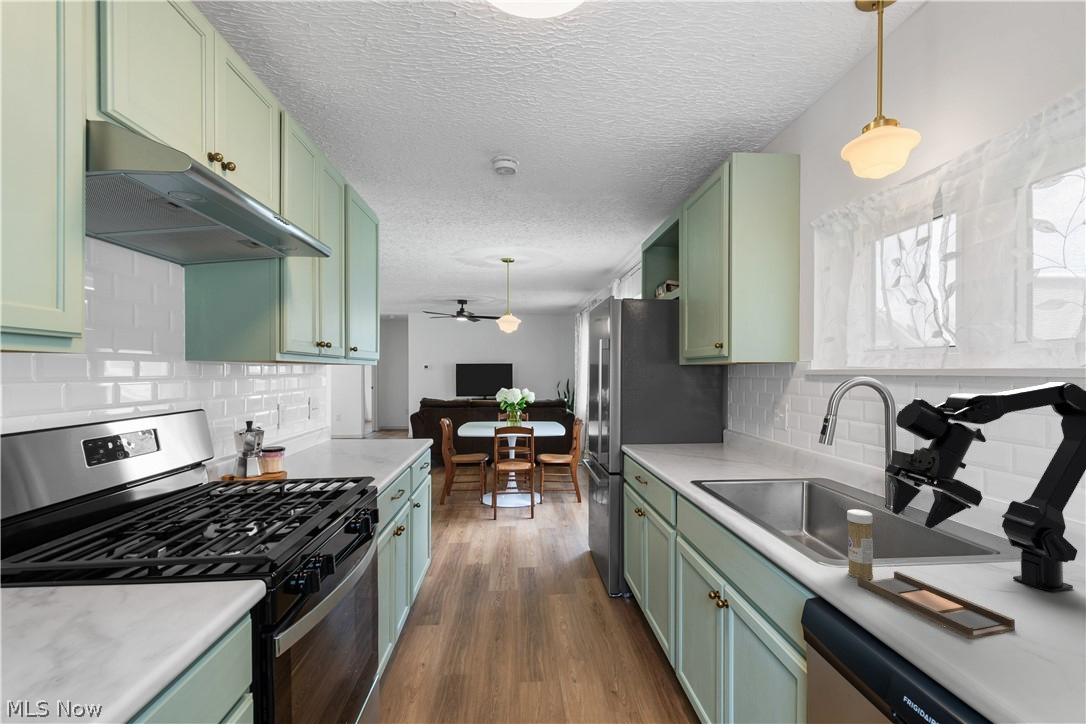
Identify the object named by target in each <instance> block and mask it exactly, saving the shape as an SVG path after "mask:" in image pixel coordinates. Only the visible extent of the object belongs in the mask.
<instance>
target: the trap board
mask: <svg viewBox="0 0 1086 724" xmlns="http://www.w3.org/2000/svg"><path fill="white" fill-rule="evenodd" d="M857 586H859V587H861V588H862V589H864V590H867V591H869V592H871V593H873V594H875V595H877V596H879V597H880V598H881V597H882V598H884V599H885V600H887V601H890V602H891V603H893V604H897V605H898V606H899V607H902V608H905V609H907V610H909V611H910V612H912V613H915V614H917V615H919V616H920V617H923V618H925V619H927V620H930V621H932V622H933V621H934V623H935V622H936V624H938V625H940V626H942V625H943V626H942V627H944V626H945V627H944V628H946V629H947V630H950V629H951V630H950V631H952V630H953V632H954V631H955V633H956V632H957V633H956V634H958V633H959V634H958V635H960V636H962V637H964V638H967V639H969V640H970V639H971V640H972V639H975V638H980V637H981V638H982V637H986V635H987V636H990V635H995V634H996V633H997V634H1001V632H1002V633H1006V632H1011V631H1016V623H1015V622H1016V621H1015V618H1013V617H1011V616H1010V617H1009V616H1007V615H1004V614H1002V613H999V612H997V611H995V610H993V609H989V608H988V607H985V606H982V605H980V604H977V603H975V602H973V601H971V600H968V599H965V598H964V597H961V596H958V595H955V594H954V593H951V592H949V591H946V590H944V589H941V588H939V587H936V586H934V585H931V584H929V583H926V582H925V581H922V580H921V579H917V578H915V577H912V576H911V575H910V576H909V575H907V574H905V573H903V572H900V571H898V570H896V571H893V577H887V578H882V579H874V580H871V579H865V578H863V577H858V578H857ZM997 634H996V635H997Z"/></svg>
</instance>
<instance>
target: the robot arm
mask: <svg viewBox="0 0 1086 724" xmlns="http://www.w3.org/2000/svg"><path fill="white" fill-rule="evenodd" d="M1047 406H1051V408H1052V410H1053V412H1054V413H1056V414H1058V416H1060V417H1062V419H1061V422H1060V426H1061V427H1060V428H1061V431H1062V435H1063V438H1062V440H1061V442H1060V444H1059V445H1058V447H1057V449H1056V450H1055V453H1054V455H1052V458H1051V459H1050V461H1049V464H1048V465H1047V467H1046V469H1045V470H1044V472H1043V474H1042V476H1041V477H1040V479H1039V481H1038V483H1037V485H1036V487H1035V488H1034V490H1033V492H1032V494H1031V495H1030V497H1029V498H1028V499H1026V500H1024V501H1022V502H1020V501H1017V500H1012V501H1011V502H1010V503H1009V504H1008V508H1007V510H1006V512H1004V514H1002V516H1001V518H1003V521H1002V524H1001V527H1002V528H1003V532H1004V534H1005V536H1006V537H1007V539H1008V542H1009V544H1010V546H1011V547H1015V548H1016V549H1017V548H1018V549H1020V550H1021V551H1020V575H1015V576H1012V580H1014V581H1017V582H1019V583H1023V584H1024V585H1025V584H1026V585H1029V586H1031V587H1034V588H1038V589H1039V590H1043V591H1046V592H1049V593H1055V592H1059V591H1066V590H1071V589H1073V588H1074V586H1073V585H1072V584H1070V583H1067V582H1064V566H1063V565H1064V563H1069V562H1071V561H1072V562H1073V561H1075V560H1076V557H1077V555H1078V549H1077V548H1075V546H1074V545H1073V544H1071V543H1070V542H1069V541H1068V540H1067V539H1066V538H1065V537H1064V534H1065V532H1066V529H1067V526H1066V523H1065V518H1064V512H1063V511H1064V509H1065V508H1066V506H1067V504H1068V502H1069V500H1070V499H1071V497H1072V495H1073V494H1074V492H1075V490H1076V488H1077V486H1078V485H1079V483H1080V481H1081V479H1082V478H1083V475H1084V474H1085V472H1086V390H1085V389H1083V388H1082V387H1080V386H1079V385H1078V384H1074V383H1072V382H1059V381H1057V382H1054V381H1050V382H1047V383H1044V384H1039V385H1035V386H1028V387H1022V388H1017V389H1016V388H1015V389H1011V390H1006V391H1001V392H994V393H953V394H950V395H949V396H947V398H946V400H945V401H944V402H941V403H940V404H937V405H935V406H934V405H932V404H930V403H929V402H928V401H926V399H923V398H913V400H912V402H911V403H909V404H906V405H905V406H904V407H903V408H902V409H901V410H899V411H898V413H897V416H896V418H895V419H896V420H895V423H896V425H897V426H898V427H899V428H901V429H903V430H905V431H907V432H908V433H910V434H912V435H914V436H916V437H918V438H920V439H922V440H924V441H931V442H930V443H929V446H928V447H924V446H923V447H921V448H919V449H915V451H907V450H901V449H892V450H891V459H890V463H888V464H887V467H886V469H885V470H884V473H886V474H887V478H888V479H889V480H890V481H891V483H892V484H893V499H892V511H891V512H892V514H895V515H897V516H899V514H900V513H902V512H903V510H905V509H906V508H907V506H908V505H909V504H910V503H911V502H912V501H914V499H915V498H916V497H917V495H918V494H919V493H920V492H922V490H921V489H920V488H921V487H922V486H926V487H930V488H932V489H931V490H932V493H933V494H932V495H933V498H934V501H933V503H932V505H931V507H930V510H929V512H928V514H927V517H926V519H925V524H924V527H925V528H927V529H929V530H930V529H933V528H934V527H936V526H938V525H939V524H941V523H942V522H944V521H946V520H947V519H949V518H951V517H953V516H954V515H956V514H958V513H960V512H962V511H964V510H966V509H968V510H970V509H971V508H972V506H974V507H977V508H979V506H980V504H981V502H982V501H983V500H984V499H983V498H984V497H983V495H982V492H981V491H980V490H979V489H978V488H975V487H973V486H972V485H969V484H967V483H965V482H964V481H962V480H959V479H955V476H956V473H957V472H958V470H959V469H962V470H965V469H966V467H967V464H966V463H964V462H963V460H964V458H965V457H966V454H967V452H968V450H969V448H970V446H971V445H972V443H973V441H974V442H981V443H986V442H987V438H986V437H985V435H984V434H983V433H982V429H981V428H980V427H975V426H974V427H973V426H971V427H969V426H967V425H965V424H963V423H967V424H973V425H974V424H975V425H986V424H988V423H991V422H994V421H997V420H1000V419H1001V418H1002V417H1003V416H1004V415H1006V414H1009V413H1013V412H1019V411H1025V410H1030V409H1036V408H1042V407H1047ZM949 420H951V421H952V422H953V423H952V422H951V421H949Z"/></svg>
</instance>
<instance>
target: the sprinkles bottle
mask: <svg viewBox="0 0 1086 724" xmlns="http://www.w3.org/2000/svg"><path fill="white" fill-rule="evenodd" d="M846 519H847V523H848V526H847V527H848V536H847V540H848V542H847V543H848V544H847V545H848V546H847V548H848V550H847V551H848V552H847V553H848V554H847V555H848V557H847V558H848V571H847V572H848V573H847V574H849V575H850V576H851V577H853V578H855V579H858V577H863V578H865V579H868V580H871V579H874V574H873V562H874V561H873V560H874V559H873V558H874V555H873V554H874V553H873V550H874V549H873V547H874V545H873V527H872V525H873V522H874V521H873V519H874V518H873V513H872V512H870V511H867V510H865V509H855V508H854V509H848V510H847V512H846Z"/></svg>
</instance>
